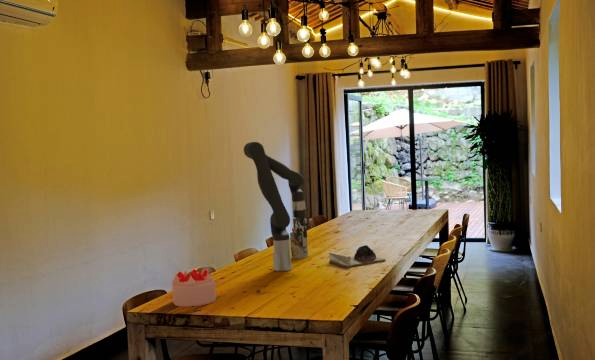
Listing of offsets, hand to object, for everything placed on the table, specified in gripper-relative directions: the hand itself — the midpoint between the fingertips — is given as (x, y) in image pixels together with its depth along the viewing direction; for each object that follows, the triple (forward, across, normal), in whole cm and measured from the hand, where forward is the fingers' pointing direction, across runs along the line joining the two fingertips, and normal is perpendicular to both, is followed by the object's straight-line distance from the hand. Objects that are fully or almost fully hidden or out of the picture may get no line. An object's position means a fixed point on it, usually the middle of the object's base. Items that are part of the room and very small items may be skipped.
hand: (301, 236), depth 351 cm
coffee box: (+18, -28, +11) cm, 35 cm away
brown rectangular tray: (+18, +13, +27) cm, 35 cm away
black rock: (+18, +13, +33) cm, 40 cm away
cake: (+15, +38, -78) cm, 88 cm away
